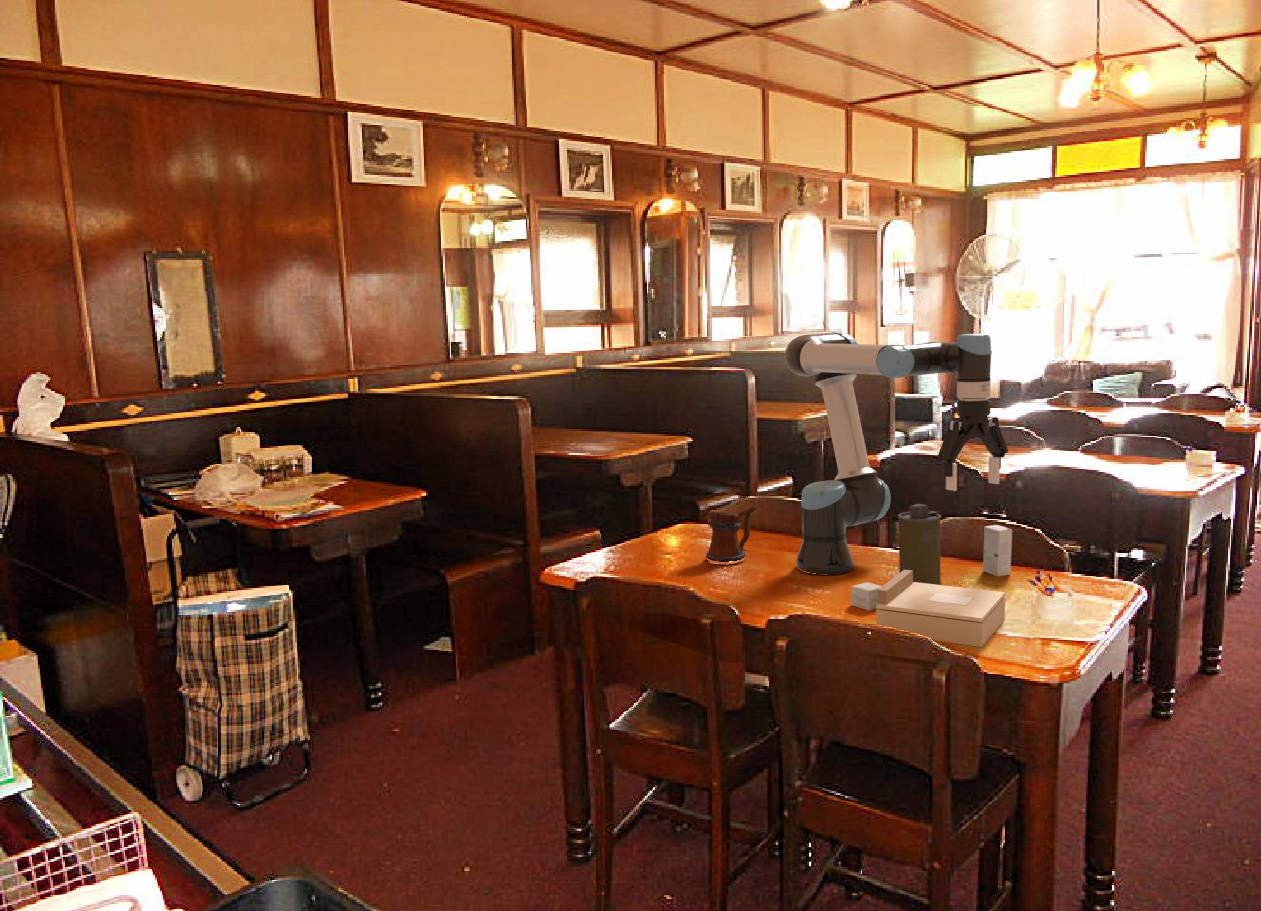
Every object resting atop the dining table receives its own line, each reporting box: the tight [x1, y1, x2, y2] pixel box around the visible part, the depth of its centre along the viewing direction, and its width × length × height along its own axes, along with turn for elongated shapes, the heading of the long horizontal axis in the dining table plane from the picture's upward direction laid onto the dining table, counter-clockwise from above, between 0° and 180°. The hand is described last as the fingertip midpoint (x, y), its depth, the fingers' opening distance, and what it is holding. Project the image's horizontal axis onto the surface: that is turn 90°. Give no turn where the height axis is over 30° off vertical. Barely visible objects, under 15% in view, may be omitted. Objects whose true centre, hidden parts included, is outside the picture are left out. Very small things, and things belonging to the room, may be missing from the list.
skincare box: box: [982, 524, 1013, 577], centre depth 241 cm, size 6×4×12 cm
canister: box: [897, 503, 942, 585], centre depth 235 cm, size 11×10×20 cm
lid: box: [876, 570, 1006, 622], centre depth 203 cm, size 22×20×4 cm
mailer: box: [875, 596, 1006, 648], centre depth 203 cm, size 22×20×5 cm
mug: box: [705, 504, 757, 562], centre depth 269 cm, size 18×12×15 cm, turn 128°
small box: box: [851, 582, 883, 612], centre depth 220 cm, size 6×6×5 cm
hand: (972, 486), depth 225 cm, fingers open, 13 cm apart
